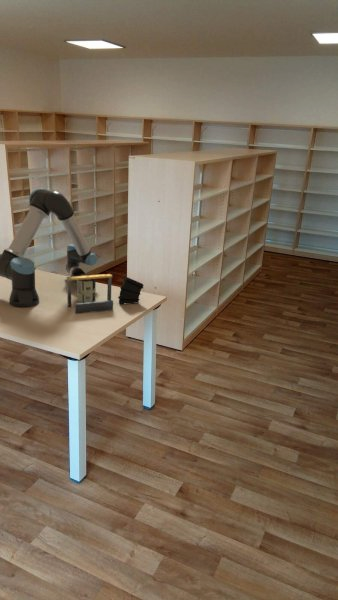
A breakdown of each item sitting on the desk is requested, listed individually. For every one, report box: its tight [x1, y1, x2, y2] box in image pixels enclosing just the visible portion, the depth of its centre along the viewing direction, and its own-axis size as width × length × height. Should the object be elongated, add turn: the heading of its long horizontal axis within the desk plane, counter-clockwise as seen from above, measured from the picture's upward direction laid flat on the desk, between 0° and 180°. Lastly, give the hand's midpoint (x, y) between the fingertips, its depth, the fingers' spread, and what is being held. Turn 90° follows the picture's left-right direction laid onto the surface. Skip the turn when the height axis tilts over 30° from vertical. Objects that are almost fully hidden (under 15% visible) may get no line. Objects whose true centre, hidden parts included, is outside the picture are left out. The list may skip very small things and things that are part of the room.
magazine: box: [117, 276, 144, 305], centre depth 242 cm, size 4×13×15 cm, turn 114°
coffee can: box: [76, 273, 97, 303], centre depth 239 cm, size 10×10×14 cm
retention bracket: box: [66, 273, 114, 315], centre depth 229 cm, size 24×11×16 cm, turn 116°
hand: (88, 286), depth 244 cm, fingers closed
